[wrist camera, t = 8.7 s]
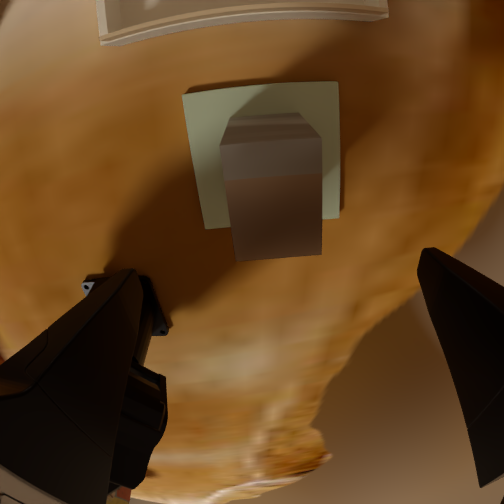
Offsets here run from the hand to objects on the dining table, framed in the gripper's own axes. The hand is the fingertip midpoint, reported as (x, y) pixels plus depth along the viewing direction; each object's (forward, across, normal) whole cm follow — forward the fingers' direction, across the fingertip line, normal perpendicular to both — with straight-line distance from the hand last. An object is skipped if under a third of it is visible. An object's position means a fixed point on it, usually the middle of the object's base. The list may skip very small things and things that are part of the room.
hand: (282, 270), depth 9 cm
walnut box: (+11, 0, 0) cm, 11 cm away
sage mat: (+12, 0, 0) cm, 12 cm away
